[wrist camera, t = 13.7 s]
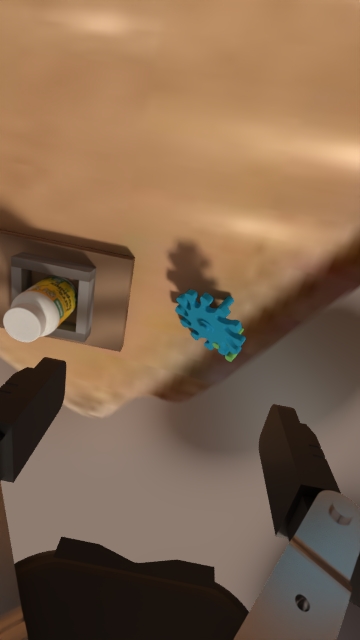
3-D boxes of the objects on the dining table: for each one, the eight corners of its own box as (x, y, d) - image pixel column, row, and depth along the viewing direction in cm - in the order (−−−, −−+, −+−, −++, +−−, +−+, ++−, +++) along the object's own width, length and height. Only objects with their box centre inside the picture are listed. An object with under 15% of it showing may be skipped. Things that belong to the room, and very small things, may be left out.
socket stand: (-5, 228, 41) (-27, 233, 37) (134, 257, 41) (127, 265, 37) (-2, 320, 46) (-20, 333, 42) (122, 346, 46) (115, 360, 42)
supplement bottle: (31, 287, 42) (-16, 316, 33) (61, 266, 40) (22, 290, 32) (57, 320, 44) (20, 356, 35) (88, 301, 42) (57, 333, 33)
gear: (159, 296, 41) (214, 297, 33) (187, 269, 44) (245, 264, 36) (199, 358, 46) (255, 371, 38) (222, 330, 49) (279, 337, 41)
